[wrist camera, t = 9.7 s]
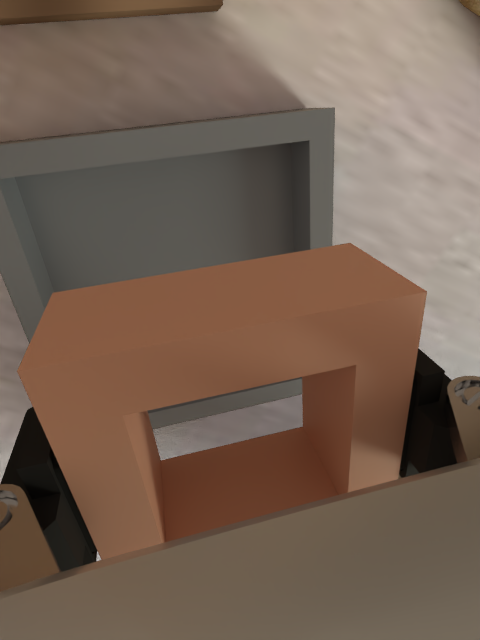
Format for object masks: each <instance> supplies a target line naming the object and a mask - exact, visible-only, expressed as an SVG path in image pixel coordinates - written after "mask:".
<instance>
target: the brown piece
mask: <svg viewBox="0 0 480 640" xmlns="http://www.w3.org/2000/svg"><path fill="white" fill-rule="evenodd" d="M222 5H223V0H0V25H12V24H27V23H43V22H58V21H73V20H89V19H104V18H119V17H134V16H150V15H165V14H180V13H196V12H211V11H218V10H219V9H220V8H221V6H222Z"/></svg>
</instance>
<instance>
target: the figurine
mask: <svg viewBox="0 0 480 640" xmlns="http://www.w3.org/2000/svg"><path fill="white" fill-rule="evenodd" d="M458 1H460V2H461V4H462V5H463V6H464V7H466V8H467V9H469V10H470V11H472V12H473V13H475V14H476V15H478V16H479V17H480V0H458Z"/></svg>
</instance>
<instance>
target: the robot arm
mask: <svg viewBox="0 0 480 640" xmlns="http://www.w3.org/2000/svg"><path fill="white" fill-rule="evenodd" d="M444 373H445V371H444V370H443V369H442V368H441V367H440V366H438V365H437V364H436V363H435V362H434V361H433V360H431V359H430V358H429V357H428V356H427V355H426V354H424V353H423V352H422V351H421V350H420V349H419V348H418V353H417V359H416V366H415V372H414V379H413V385H412V392H411V398H410V405H409V411H408V418H407V424H406V431H405V437H404V444H403V450H402V457H401V463H400V470H399V475H400V476H401V478H400V479H396V480H393V481H389V482H385V483H381V484H378V485H374V486H370V487H366V488H362V489H359V490H355V491H351V492H347V493H344V494H340V495H336V496H333V497H329V498H325V499H321V500H318V501H314V502H310V503H307V504H303V505H299V506H296V507H292V508H288V509H284V510H281V511H277V512H273V513H270V514H266V515H262V516H259V517H255V518H251V519H248V520H244V521H240V522H237V523H233V524H229V525H226V526H222V527H218V528H215V529H211V530H208V531H204V532H200V533H197V534H193V535H190V536H186V537H182V538H179V539H175V540H171V541H168V542H164V543H161V544H157V545H153V546H150V547H146V548H143V549H139V550H135V551H132V552H128V553H125V554H121V555H117V556H114V557H111V558H107V559H104V560H100V561H97V562H96V556H97V548H96V546H95V544H94V542H93V539H92V537H91V535H90V533H89V530H88V528H87V526H86V524H85V521H84V519H83V517H82V515H81V513H80V510H79V508H78V506H77V504H76V501H75V499H74V497H73V495H72V492H71V490H70V488H69V486H68V484H67V481H66V479H65V477H64V475H63V472H62V470H61V468H60V466H59V463H58V461H57V459H56V457H55V454H54V452H53V450H52V448H51V446H50V443H49V441H48V439H47V437H46V434H45V432H44V430H43V428H42V425H41V423H40V421H39V419H38V417H37V414H36V412H35V410H34V408H33V407H32V408H30V409H28V410H27V412H26V414H25V417H24V420H23V423H22V425H21V428H20V431H19V434H18V437H17V439H16V442H15V445H14V448H13V450H12V453H11V456H10V459H9V462H8V464H7V467H6V470H5V473H4V475H3V478H2V481H1V484H0V640H480V377H477V376H463V377H458V378H455V379H454V380H451V379H450V378H448V377H447V376H446V375H445V374H444Z"/></svg>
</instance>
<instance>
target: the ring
mask: <svg viewBox="0 0 480 640" xmlns="http://www.w3.org/2000/svg"><path fill="white" fill-rule="evenodd" d="M426 295H427V291H425V290H424V289H422V288H420V287H419V286H417V285H416V284H414V283H413V282H411V281H409V280H408V279H406V278H405V277H403V276H402V275H400V274H398V273H397V272H395V271H394V270H392V269H391V268H389V267H387V266H386V265H384V264H383V263H381V262H380V261H378V260H376V259H375V258H373V257H372V256H370V255H369V254H367V253H365V252H364V251H362V250H361V249H359V248H358V247H356V246H354V245H353V244H351V243H347V244H341V245H335V246H329V247H323V248H317V249H311V250H305V251H299V252H293V253H287V254H281V255H275V256H269V257H263V258H257V259H251V260H245V261H239V262H234V263H228V264H222V265H216V266H210V267H204V268H198V269H192V270H186V271H180V272H174V273H168V274H162V275H156V276H150V277H144V278H138V279H132V280H126V281H120V282H114V283H108V284H102V285H96V286H90V287H84V288H78V289H73V290H67V291H61V292H55V293H52V295H51V297H50V300H49V302H48V304H47V306H46V308H45V311H44V313H43V315H42V317H41V319H40V322H39V324H38V326H37V328H36V331H35V333H34V335H33V337H32V339H31V342H30V344H29V346H28V348H27V351H26V353H25V355H24V357H23V359H22V362H21V364H20V366H19V368H18V370H17V372H18V374H19V376H20V379H21V381H22V383H23V385H24V387H25V390H26V392H27V394H28V396H29V399H30V401H31V403H32V405H33V408H34V410H35V412H36V414H37V417H38V419H39V421H40V423H41V425H42V428H43V430H44V432H45V434H46V437H47V439H48V441H49V443H50V446H51V448H52V450H53V452H54V454H55V457H56V459H57V461H58V463H59V466H60V468H61V470H62V472H63V475H64V477H65V479H66V481H67V484H68V486H69V488H70V490H71V492H72V495H73V497H74V499H75V501H76V504H77V506H78V508H79V510H80V513H81V515H82V517H83V519H84V521H85V524H86V526H87V528H88V530H89V533H90V535H91V537H92V539H93V542H94V544H95V546H96V548H97V551H98V553H99V555H100V557H101V559H102V560H104V559H107V558H111V557H114V556H117V555H121V554H125V553H128V552H132V551H135V550H139V549H143V548H146V547H150V546H153V545H157V544H161V543H164V542H168V541H171V540H175V539H179V538H182V537H186V536H190V535H193V534H197V533H200V532H204V531H208V530H211V529H215V528H218V527H222V526H226V525H229V524H233V523H237V522H240V521H244V520H248V519H251V518H255V517H259V516H262V515H266V514H270V513H273V512H277V511H281V510H284V509H288V508H292V507H296V506H299V505H303V504H307V503H310V502H314V501H318V500H321V499H325V498H329V497H333V496H336V495H340V494H344V493H347V492H351V491H355V490H359V489H362V488H366V487H370V486H374V485H378V484H381V483H385V482H389V481H393V480H396V479H398V476H399V470H400V463H401V457H402V450H403V444H404V437H405V431H406V424H407V418H408V411H409V405H410V398H411V392H412V385H413V379H414V372H415V366H416V359H417V353H418V347H419V340H420V334H421V327H422V321H423V314H424V308H425V301H426ZM299 377H302V400H303V427H300V428H295V429H291V430H287V431H283V432H279V433H274V434H270V435H266V436H262V437H258V438H253V439H249V440H245V441H241V442H237V443H233V444H228V445H224V446H220V447H216V448H212V449H207V450H203V451H199V452H195V453H191V454H187V455H182V456H178V457H174V458H170V459H166V460H160V456H159V453H158V449H157V445H156V441H155V438H154V434H153V430H152V426H151V423H150V419H149V415H148V410H152V409H157V408H162V407H166V406H171V405H175V404H180V403H184V402H189V401H194V400H198V399H203V398H207V397H212V396H217V395H221V394H226V393H230V392H235V391H239V390H244V389H249V388H253V387H258V386H262V385H267V384H271V383H276V382H281V381H285V380H290V379H294V378H299Z"/></svg>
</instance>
